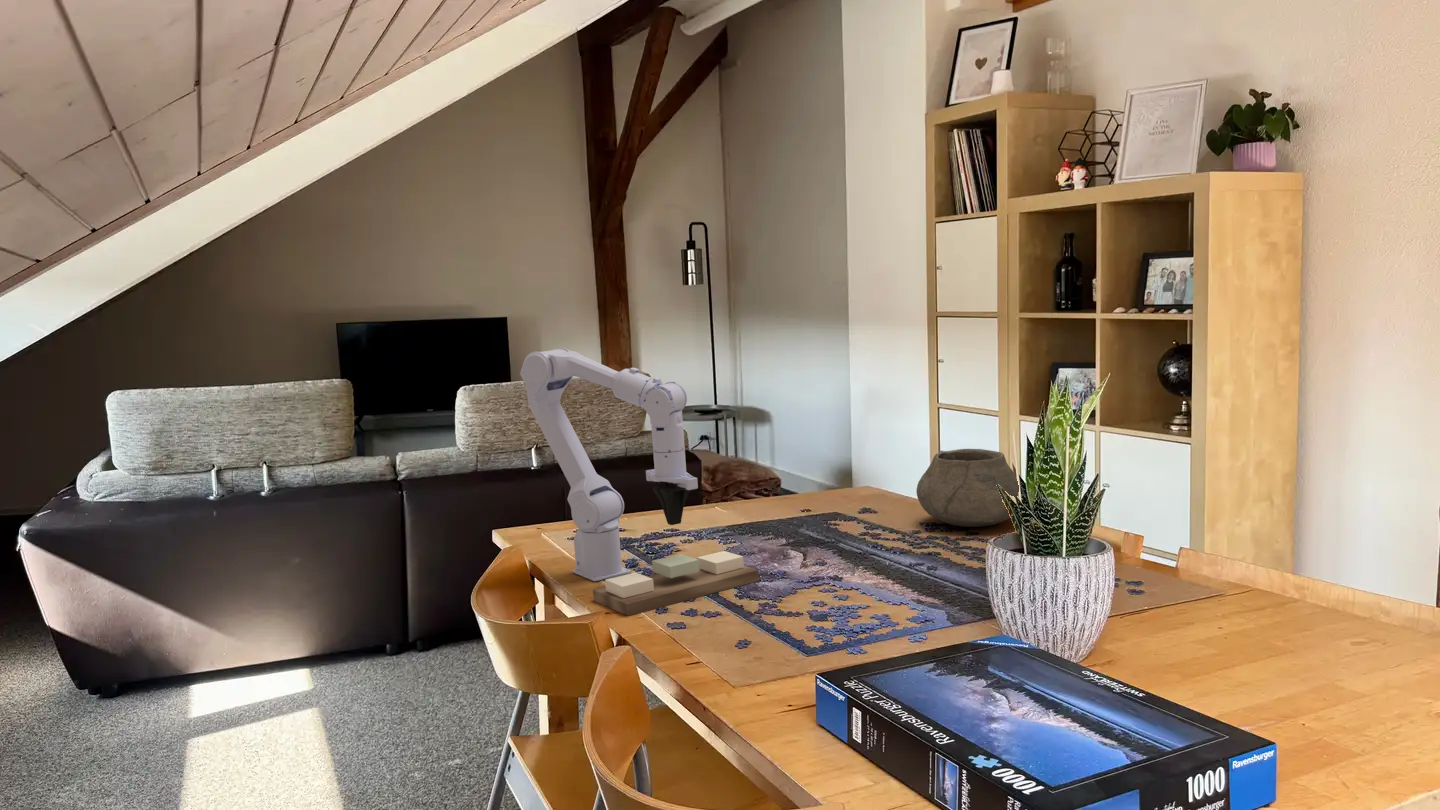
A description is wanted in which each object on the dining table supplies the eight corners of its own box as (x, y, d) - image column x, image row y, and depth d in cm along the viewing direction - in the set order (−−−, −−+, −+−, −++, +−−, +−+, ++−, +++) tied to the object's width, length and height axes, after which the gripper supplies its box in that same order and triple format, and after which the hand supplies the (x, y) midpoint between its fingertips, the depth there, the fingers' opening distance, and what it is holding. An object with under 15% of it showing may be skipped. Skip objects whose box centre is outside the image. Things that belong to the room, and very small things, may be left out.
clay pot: (1022, 511, 226) (1019, 443, 224) (1028, 536, 205) (1025, 461, 203) (920, 513, 231) (917, 446, 229) (915, 537, 210) (912, 464, 208)
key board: (593, 600, 181) (592, 589, 181) (720, 568, 196) (720, 558, 196) (628, 616, 171) (627, 604, 171) (759, 580, 187) (758, 569, 186)
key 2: (697, 568, 190) (697, 557, 190) (724, 561, 193) (724, 550, 193) (716, 574, 185) (715, 563, 185) (743, 567, 188) (743, 556, 188)
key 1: (606, 591, 179) (605, 579, 179) (636, 583, 182) (635, 572, 182) (623, 598, 174) (622, 586, 174) (654, 590, 178) (653, 579, 177)
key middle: (652, 571, 184) (651, 560, 184) (681, 564, 188) (680, 553, 187) (670, 578, 179) (669, 566, 179) (699, 570, 183) (698, 559, 183)
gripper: (629, 449, 192) (635, 521, 194) (671, 457, 180) (677, 534, 182) (662, 444, 196) (667, 514, 198) (705, 451, 184) (710, 526, 186)
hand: (674, 523), depth 190 cm, fingers closed
